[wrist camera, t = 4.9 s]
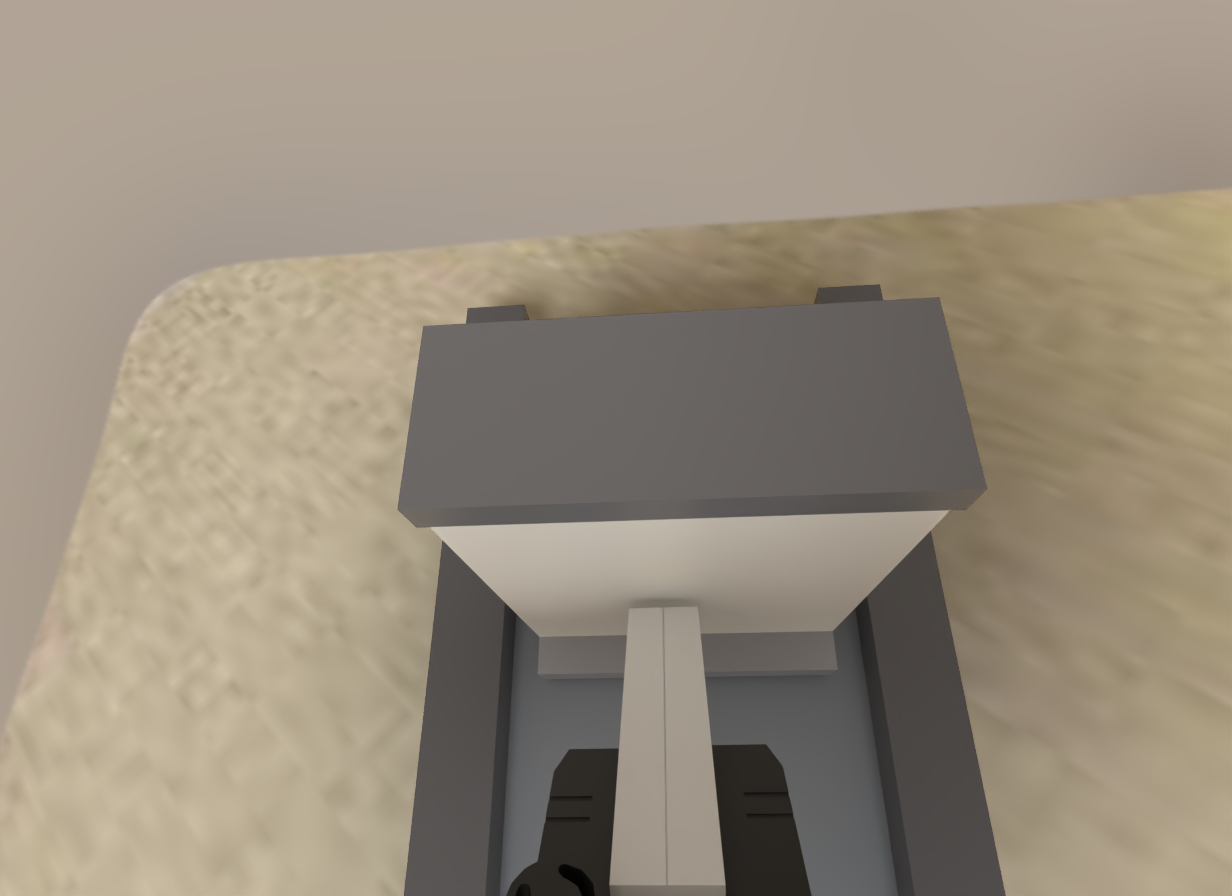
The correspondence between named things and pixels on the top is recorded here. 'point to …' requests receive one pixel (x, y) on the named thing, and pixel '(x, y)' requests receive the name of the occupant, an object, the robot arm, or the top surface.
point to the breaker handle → (690, 470)
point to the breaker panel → (714, 737)
